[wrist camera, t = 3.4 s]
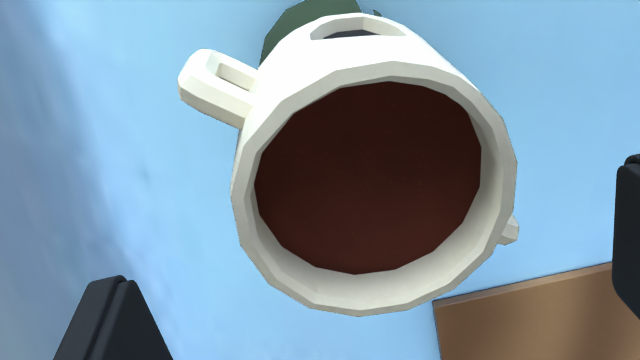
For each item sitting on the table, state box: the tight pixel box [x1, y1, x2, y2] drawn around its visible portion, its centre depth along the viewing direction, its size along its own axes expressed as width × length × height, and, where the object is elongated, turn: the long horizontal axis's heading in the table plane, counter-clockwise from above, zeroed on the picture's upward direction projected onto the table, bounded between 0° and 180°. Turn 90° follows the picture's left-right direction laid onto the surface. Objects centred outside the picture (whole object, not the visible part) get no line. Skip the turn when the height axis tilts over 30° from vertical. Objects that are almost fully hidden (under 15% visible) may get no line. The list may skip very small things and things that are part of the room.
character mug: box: [177, 0, 519, 317], centre depth 19 cm, size 11×7×13 cm, turn 63°
